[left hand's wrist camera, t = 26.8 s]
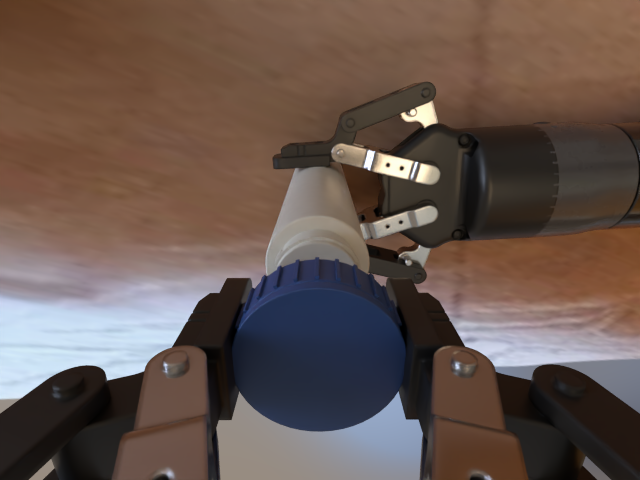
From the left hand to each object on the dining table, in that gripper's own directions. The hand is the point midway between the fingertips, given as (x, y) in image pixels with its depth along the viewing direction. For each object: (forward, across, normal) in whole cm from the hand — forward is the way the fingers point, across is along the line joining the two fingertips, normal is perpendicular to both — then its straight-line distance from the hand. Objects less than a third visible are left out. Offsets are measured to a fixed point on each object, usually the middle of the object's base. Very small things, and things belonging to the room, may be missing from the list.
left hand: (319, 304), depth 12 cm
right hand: (+14, -3, 0) cm, 15 cm away
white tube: (+21, 0, 0) cm, 21 cm away
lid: (-3, 0, 0) cm, 3 cm away
